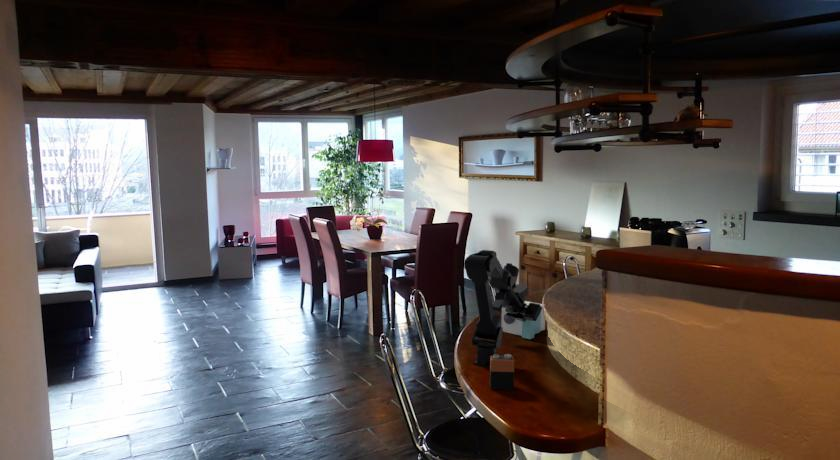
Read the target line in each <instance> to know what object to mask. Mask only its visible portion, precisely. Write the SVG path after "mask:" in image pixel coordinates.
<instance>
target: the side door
mask: <svg viewBox="0 0 840 460" xmlns="http://www.w3.org/2000/svg"><path fill="white" fill-rule="evenodd" d="M540 329H541V312H540V314H539V316H538V318H537V320H536V321H531V320H528V319H526V321H525V322H522V336H521V338H522V339H527V340H531V339H534V338H535V335H536V334H539V333H541V331H540Z"/></svg>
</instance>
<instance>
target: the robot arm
mask: <svg viewBox="0 0 840 460" xmlns="http://www.w3.org/2000/svg"><path fill="white" fill-rule="evenodd" d="M497 256H498V255H497V252H496V251H494V250H487V249H482V250H479V251H478V252H475V253H471V254H469V256H467V257H466V258H465V259H464V263H463V266H464V267H463V268H464V269H465V273H466V276H467V278H468V279H469V281H471V282H472V283H473V287H474V292H475V299H476V304H477V305H476V306H477V311H478V317H479V320H478V321H477V322H476V324H475V328H474V333H473V335H472V338H471V339H472V340H471V344H472V346H477V347H476V360H474V361H473V364H474V365H478V366H481V367H485V368H488V369H490V356H494V355H495V354H497V349H499V348H500V347H501V346H502V342H503V341H502V340H503V328H502V327H501V323H502V321H501V317H500V315H499V314H502V307H504V308H506V309H505V312H507V314H506V315H507V316H509V317H512V318H515V319H517V320H520V321H522V322H525V321H526V319H528V320H531V321H536V320H537V318H538V316H539V314H540V312H541V310H542V307H541V306H540V304H541V303H539V304H537V303H538V302H534V303H529V305H527V304H526V303H524V302H525V301H526V300H525V299H526V298H527V296H529V294H530V292H529V291H530V290H529V287H528V285H526V284H520V283H519V284H518V283H517V281H518V277H519V274H520V269H519V268H518V267H517V266H516V265H513V263H509V262H508V263H507V262H506V265H504V266H502V264H501V263H500V260H499V259H498V257H497ZM491 288H492V289H495V291H494V293H495V296H494V301H493V300H492V299H493V298H492V292H491Z"/></svg>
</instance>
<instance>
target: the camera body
mask: <svg viewBox="0 0 840 460" xmlns="http://www.w3.org/2000/svg"><path fill="white" fill-rule="evenodd" d="M524 303H526V304H527V305H529V303H535V302H532V301H527V300H525V302H524ZM536 303H537V304H540V306H541V307H542V310H541V329H540V332H541V331H545V330H546V317H545V318H544V314H543V303H539V302H536ZM505 309H506V308H504V307H501V327H502V328H503V332H504V333H508V334H511V335H512V334H513V335H516V336H521V337H522V321H520V320H517V319H515V318H512V317H509V316H507V315H506V314H507V312H505Z"/></svg>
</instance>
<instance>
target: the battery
mask: <svg viewBox="0 0 840 460" xmlns="http://www.w3.org/2000/svg"><path fill="white" fill-rule="evenodd" d="M514 382H515V358H514V356H512V354H510V353H506V354H504V355H499V354H497V353H496V354H495V355H494V356H490V368H489V387H490V390H491V391H493V390H494V391H513V390H514V388H515V387H514V386H515V383H514Z"/></svg>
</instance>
